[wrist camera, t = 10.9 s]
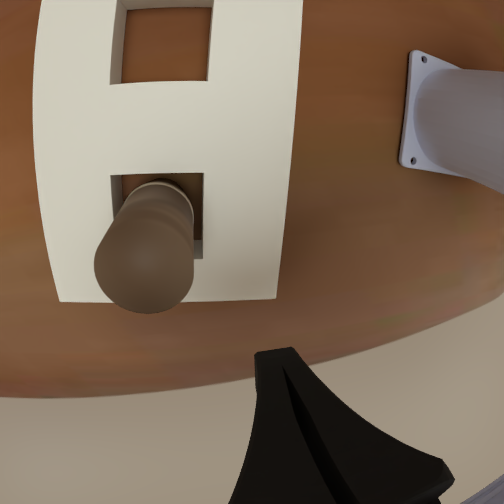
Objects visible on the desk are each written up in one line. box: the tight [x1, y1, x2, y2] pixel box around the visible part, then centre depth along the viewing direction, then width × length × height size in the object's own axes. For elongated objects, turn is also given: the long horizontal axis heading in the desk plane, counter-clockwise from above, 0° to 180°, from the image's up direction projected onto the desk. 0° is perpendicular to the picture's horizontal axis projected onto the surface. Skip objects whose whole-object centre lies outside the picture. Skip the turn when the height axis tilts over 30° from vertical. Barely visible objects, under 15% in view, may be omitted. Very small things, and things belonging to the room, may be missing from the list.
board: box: [33, 0, 303, 302], centre depth 15 cm, size 13×20×2 cm, turn 177°
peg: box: [94, 178, 194, 314], centre depth 14 cm, size 4×4×8 cm
